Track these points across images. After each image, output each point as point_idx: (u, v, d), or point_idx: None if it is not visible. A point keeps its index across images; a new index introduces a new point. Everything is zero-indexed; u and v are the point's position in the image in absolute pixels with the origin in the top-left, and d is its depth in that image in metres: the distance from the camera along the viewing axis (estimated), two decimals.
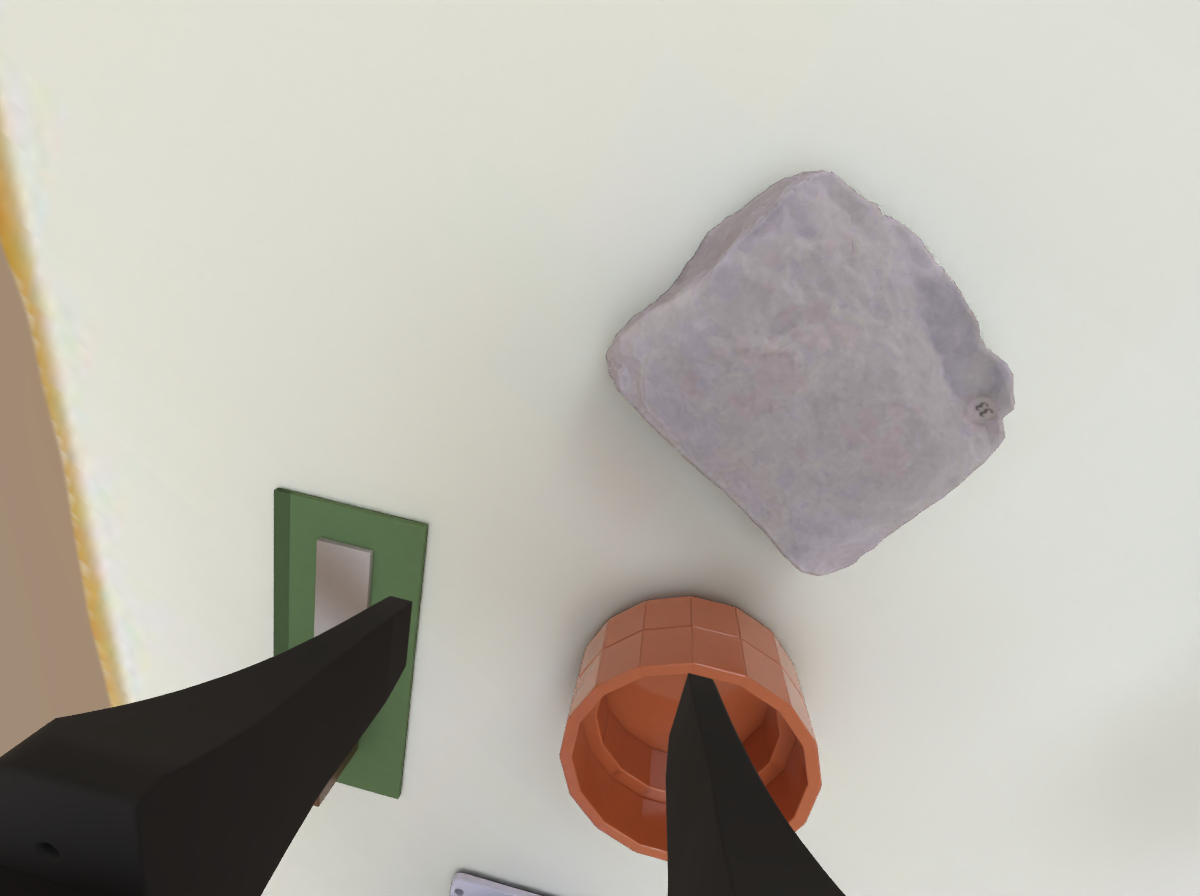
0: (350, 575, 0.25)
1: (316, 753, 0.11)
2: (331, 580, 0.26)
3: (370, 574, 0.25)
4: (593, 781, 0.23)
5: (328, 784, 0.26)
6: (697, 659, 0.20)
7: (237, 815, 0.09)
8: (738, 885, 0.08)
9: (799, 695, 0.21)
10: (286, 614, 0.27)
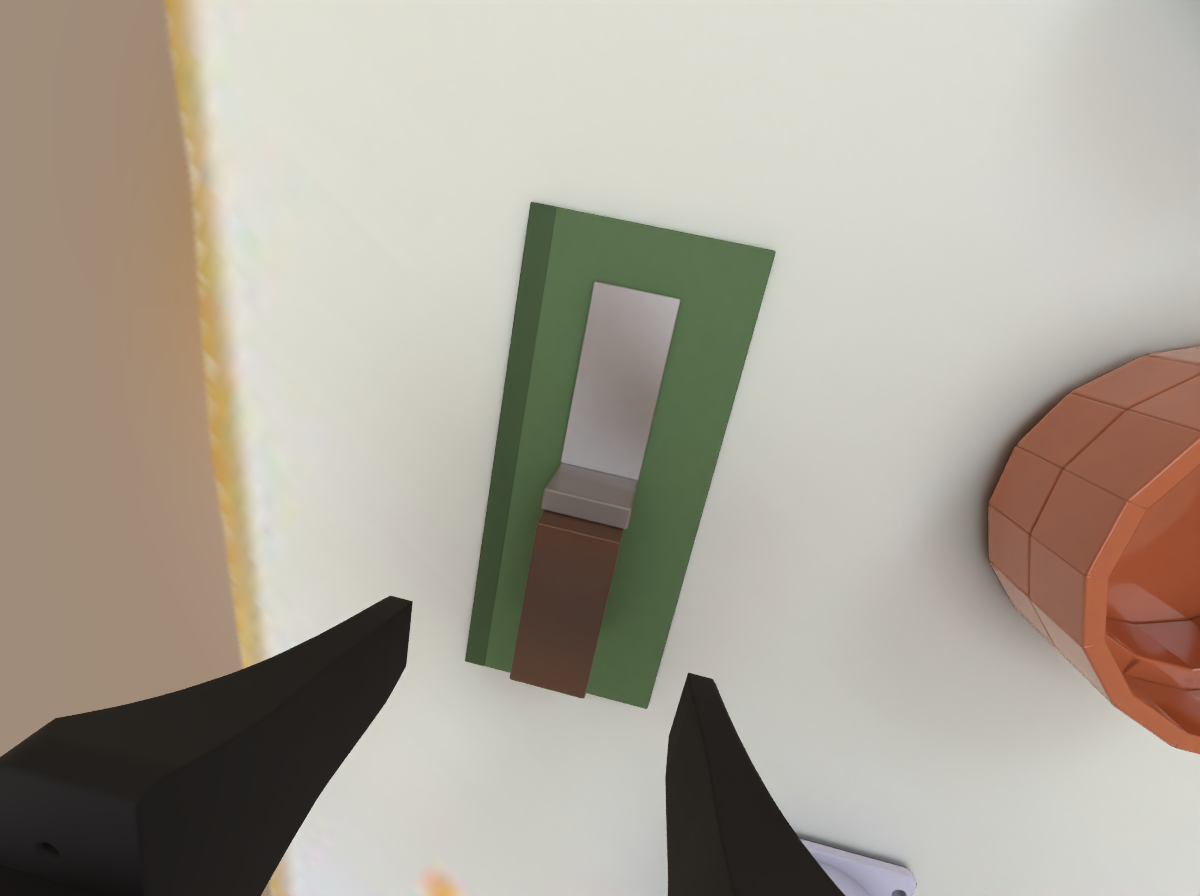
0: (640, 340, 0.17)
1: (316, 753, 0.11)
2: (607, 351, 0.17)
3: None
4: None
5: None
6: None
7: (237, 816, 0.09)
8: (738, 885, 0.08)
9: None
10: (519, 419, 0.18)
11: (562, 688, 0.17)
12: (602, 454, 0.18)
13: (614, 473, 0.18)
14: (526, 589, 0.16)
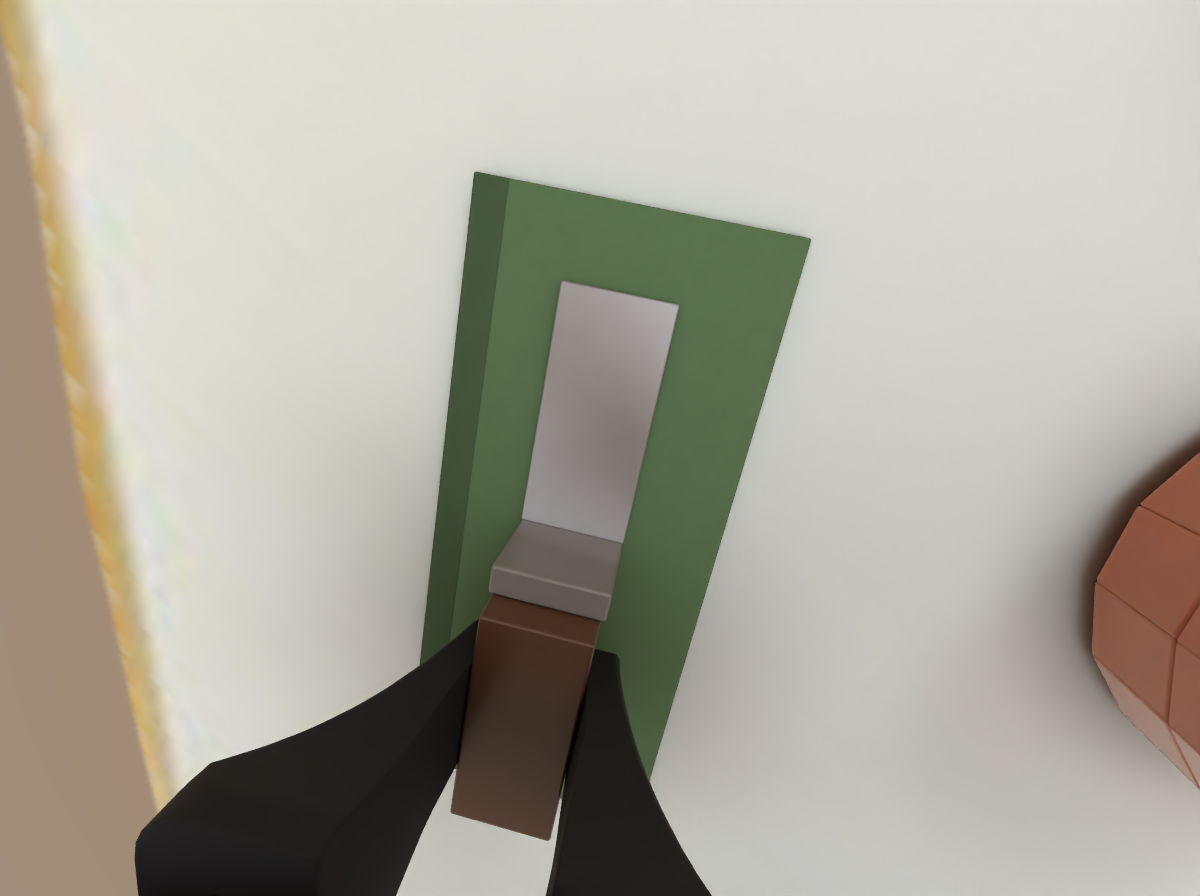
0: (624, 361, 0.12)
1: (427, 785, 0.11)
2: (580, 375, 0.12)
3: (666, 359, 0.12)
4: None
5: None
6: None
7: (376, 856, 0.09)
8: (570, 837, 0.08)
9: None
10: (468, 461, 0.14)
11: (520, 827, 0.13)
12: (575, 509, 0.13)
13: (591, 533, 0.14)
14: (468, 702, 0.12)
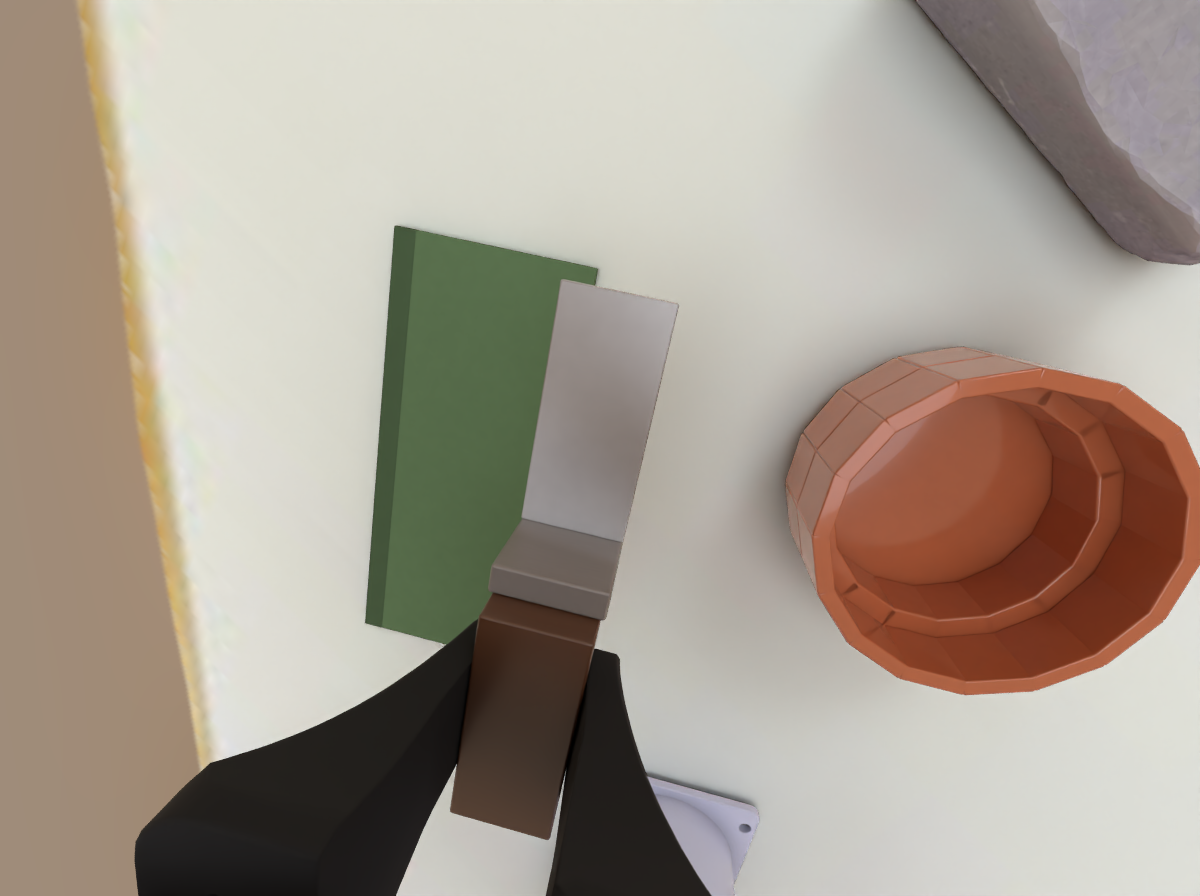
0: (624, 360, 0.12)
1: (427, 785, 0.11)
2: (580, 374, 0.12)
3: None
4: (836, 588, 0.17)
5: None
6: (1046, 367, 0.14)
7: (375, 856, 0.09)
8: (570, 837, 0.08)
9: None
10: (397, 410, 0.21)
11: (520, 827, 0.13)
12: (575, 508, 0.13)
13: (591, 533, 0.14)
14: (467, 701, 0.12)
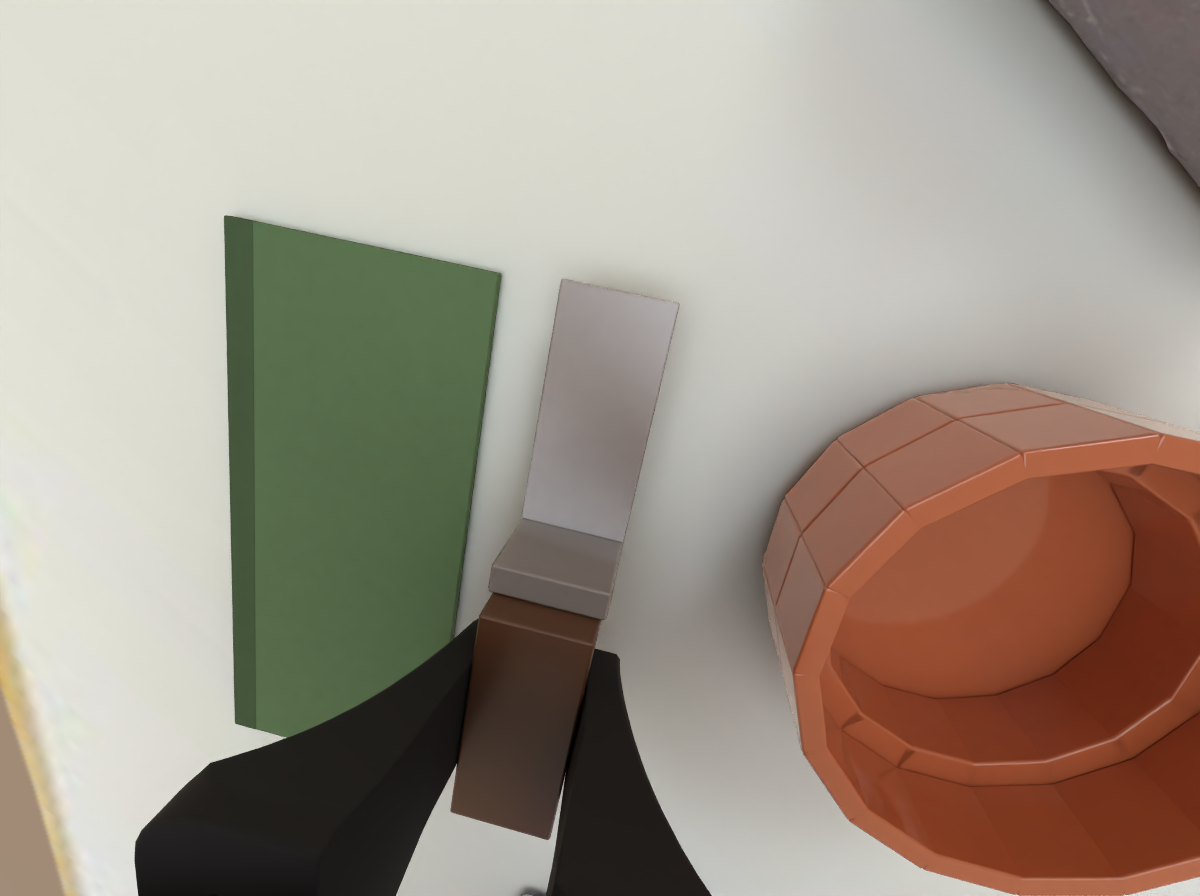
0: (624, 360, 0.12)
1: (427, 784, 0.11)
2: (580, 374, 0.12)
3: None
4: (830, 732, 0.12)
5: None
6: (1164, 432, 0.09)
7: (374, 856, 0.09)
8: (570, 837, 0.08)
9: None
10: (250, 461, 0.16)
11: (520, 826, 0.13)
12: (575, 508, 0.13)
13: (592, 532, 0.14)
14: (467, 701, 0.12)
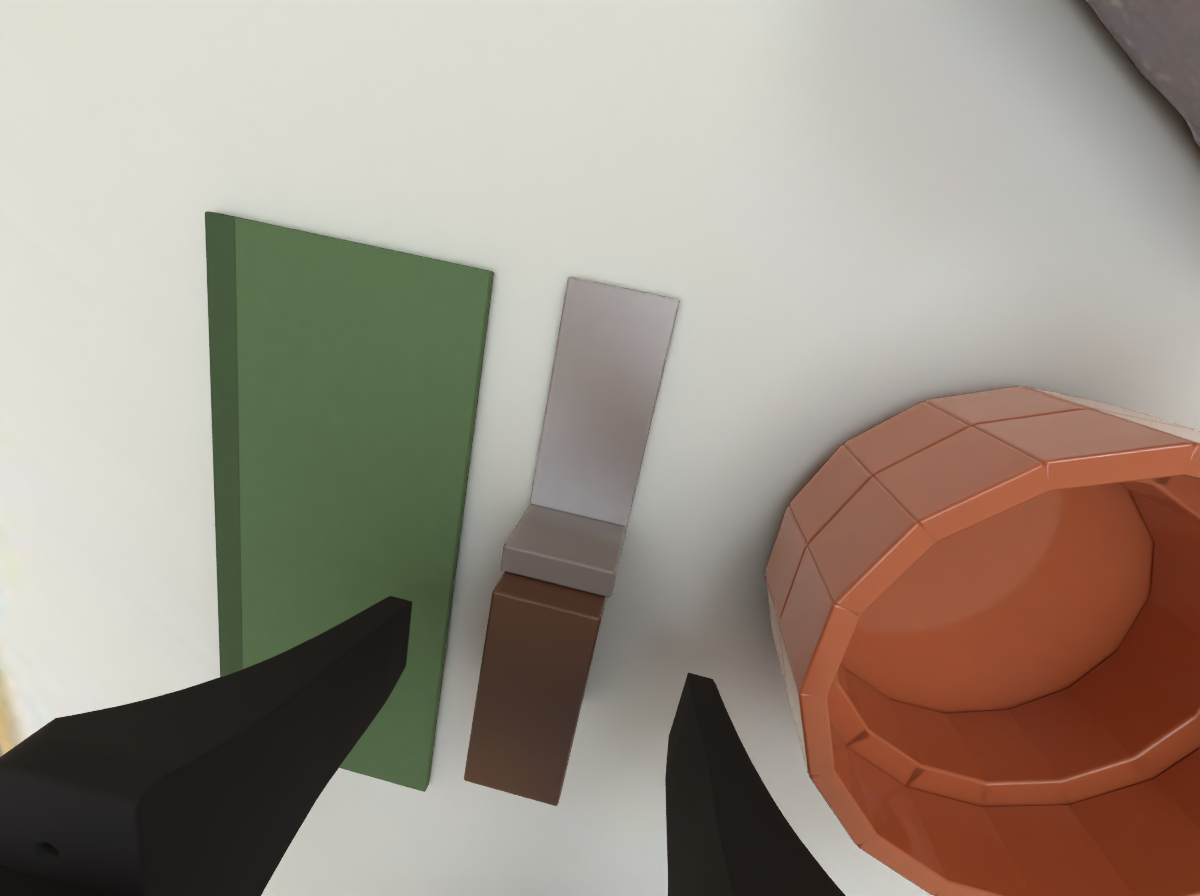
0: (628, 353, 0.13)
1: (316, 753, 0.11)
2: (586, 366, 0.13)
3: (667, 351, 0.13)
4: (837, 752, 0.11)
5: None
6: (1196, 441, 0.08)
7: (236, 816, 0.09)
8: (738, 885, 0.08)
9: None
10: (235, 466, 0.15)
11: (530, 793, 0.13)
12: (581, 494, 0.14)
13: (596, 517, 0.14)
14: (481, 673, 0.13)
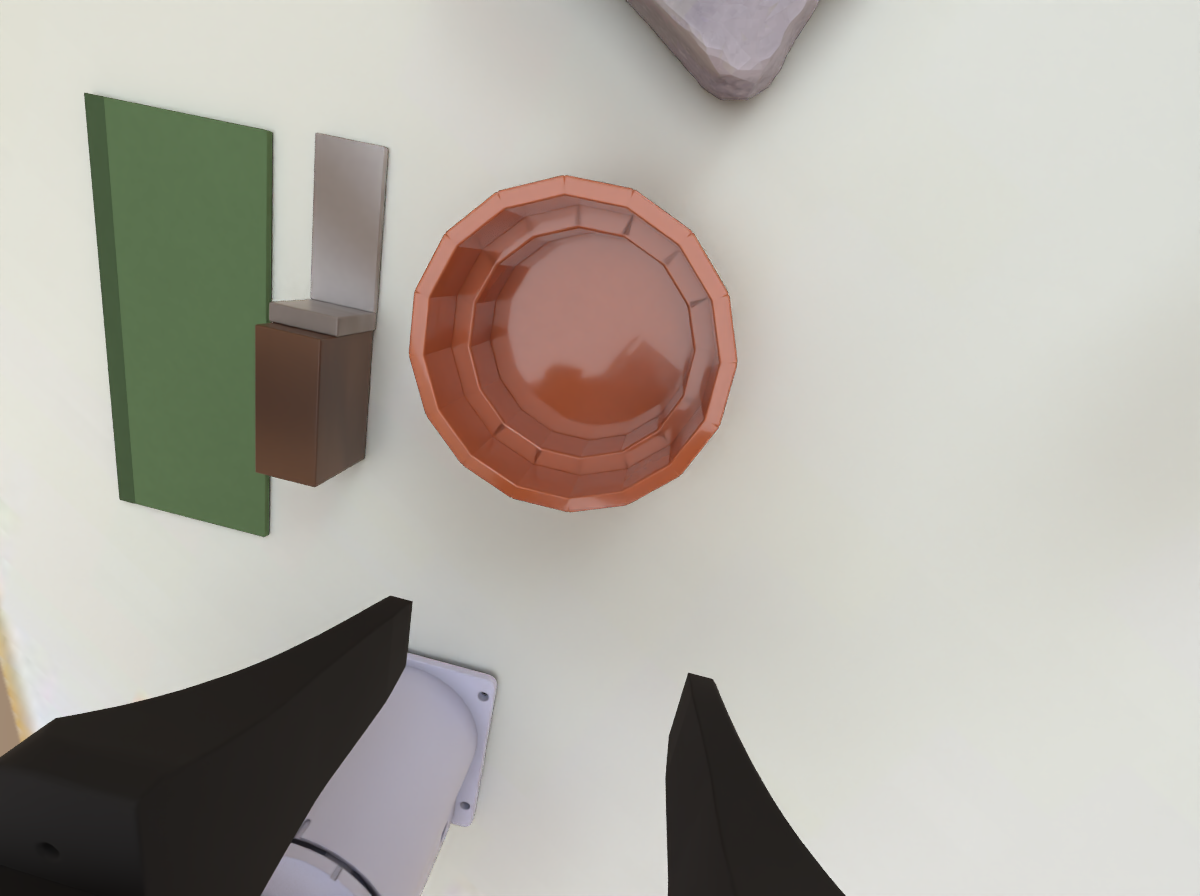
0: (358, 184, 0.20)
1: (316, 753, 0.11)
2: (333, 195, 0.20)
3: (383, 183, 0.20)
4: (462, 418, 0.18)
5: (328, 466, 0.21)
6: (572, 176, 0.15)
7: (236, 816, 0.09)
8: (738, 885, 0.08)
9: None
10: (115, 279, 0.22)
11: (297, 478, 0.20)
12: (342, 289, 0.21)
13: (354, 307, 0.21)
14: (255, 386, 0.19)
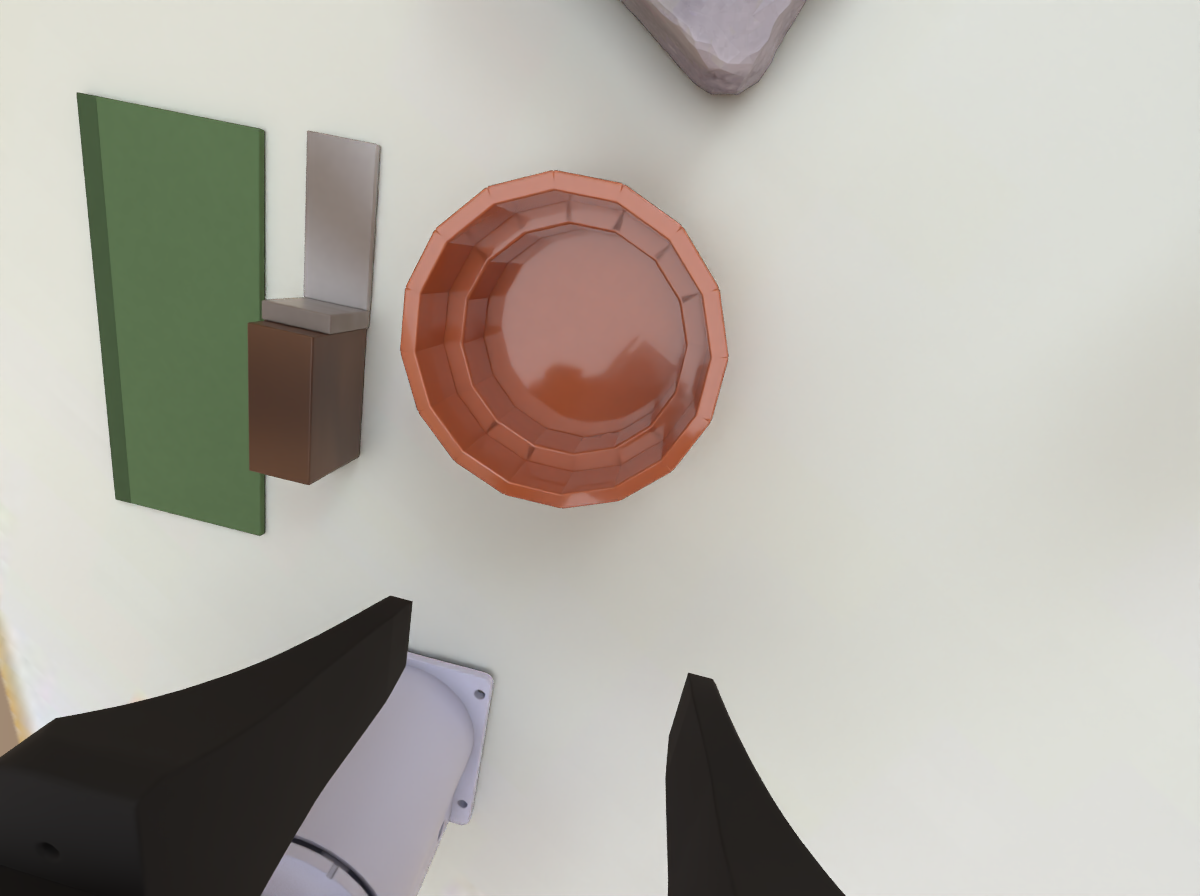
0: (350, 182, 0.20)
1: (316, 753, 0.11)
2: (325, 193, 0.20)
3: (375, 180, 0.20)
4: (455, 415, 0.18)
5: (321, 464, 0.21)
6: (562, 171, 0.15)
7: (236, 816, 0.09)
8: (738, 885, 0.08)
9: None
10: (109, 279, 0.22)
11: (290, 476, 0.20)
12: (335, 287, 0.21)
13: (347, 305, 0.21)
14: (248, 385, 0.19)
